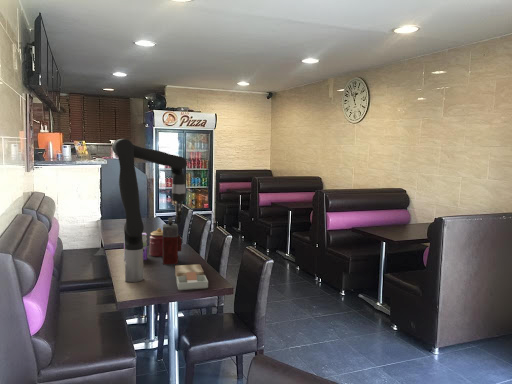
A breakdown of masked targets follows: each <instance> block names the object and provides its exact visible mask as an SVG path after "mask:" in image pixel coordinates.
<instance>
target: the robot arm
mask: <svg viewBox="0 0 512 384" xmlns="http://www.w3.org/2000/svg"><path fill="white" fill-rule="evenodd" d="M111 148H112V152H113V154H114V155H116V156H117V158H118V162H119V163H118V164H119V178H118V186H119V187H118V188H119V193H120V194H119V195H120V198H121V202H122V205H123V209H124V212H125V213H124V214H125V222H124V234H123V238H124V237H125V261H124V262H125V264H124V267H125V268H124V278H125V279H124V282H129V283H137V282H141V281H143V280H144V260H143V240H142V233H144V229H145V226H144V222H143V218H142V214H141V209H140V205H141V203H140V192H139V191H140V189H139V183H138V179H137V172H136V167H135V159H139V160H143V161H147V162H149V163H152V164H157V165H160V166H166V167H170V170H171V175H172V180H171V181H172V183H171V184H172V185H171V201H173V202H176V203H175V204H174V208H175V209H174V210H175V215H176V216H175V217H176V224H181V222H182V221H181V219H182V212H183V203H182V202H185V201H186V197H187V196H186V190H187V189H186V175H185V174H184V171H183V170H185V168H186V167H187V166H188V161H187V159H186V158H185V157H183V156H180V155H176V154H170V153H167V152H164V151H161V150H157V149H152V148H146V147H141V146H138V145H136V144H134V143H133V142H132V141H131V140H130V139H127V138H120V139H117V140H115V141H114V142H113V143H112V146H111Z"/></svg>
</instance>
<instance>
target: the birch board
mask: <svg viewBox="0 0 512 384" xmlns="http://www.w3.org/2000/svg"><path fill="white" fill-rule="evenodd" d="M174 267H175V268H174V269H175V272H174V273H175V279H176V280H177V277H179V276H186V272H196V275H205V273H204V272H205V271H204V269H203V268H202V265H201V264H199V263H198V264H183V265H182V264H181V265H175V266H174Z"/></svg>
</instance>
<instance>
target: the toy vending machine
mask: <svg viewBox="0 0 512 384" xmlns="http://www.w3.org/2000/svg"><path fill="white" fill-rule="evenodd" d="M167 219H168V221H167V222H168V223H164V224H162V230H163V256H162V264H163V265H177V264H179V252H182V238H181V234H180V233H179V225H178V223H173V217H167Z"/></svg>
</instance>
